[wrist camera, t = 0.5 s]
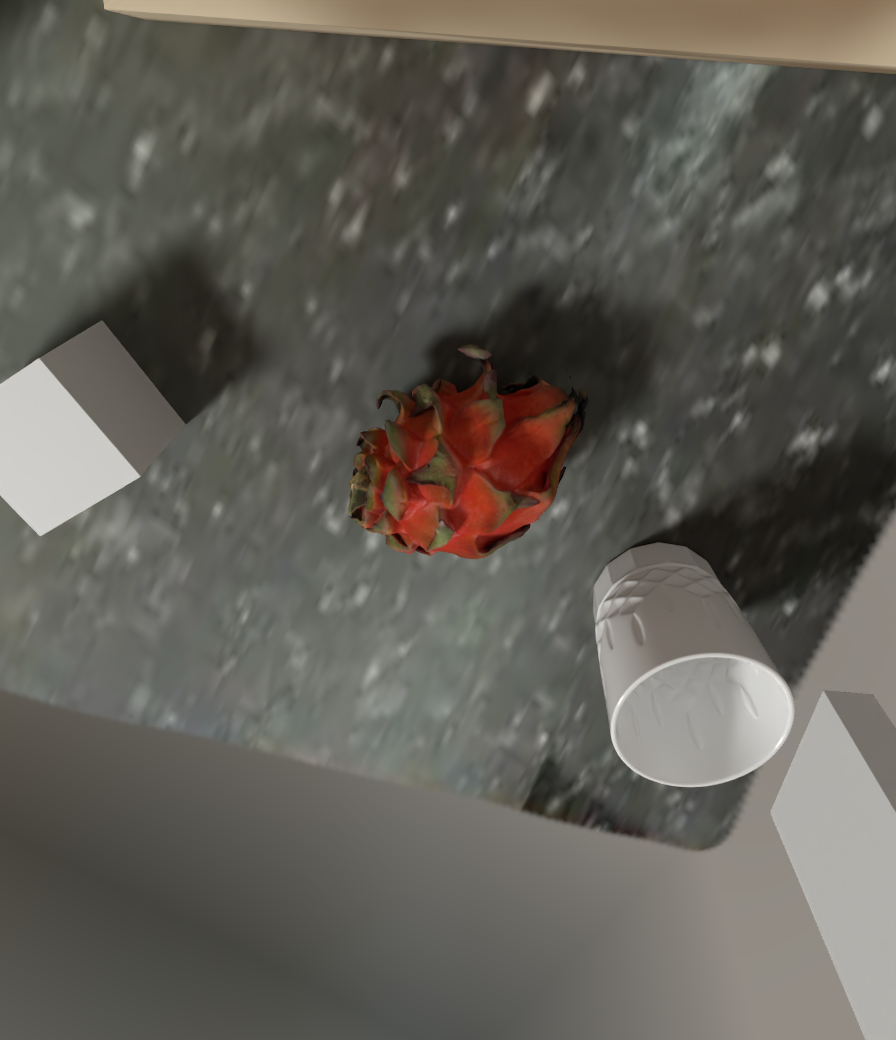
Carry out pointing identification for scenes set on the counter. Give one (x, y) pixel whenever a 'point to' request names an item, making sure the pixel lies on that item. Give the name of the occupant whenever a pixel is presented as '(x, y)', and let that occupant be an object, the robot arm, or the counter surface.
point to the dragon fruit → (464, 463)
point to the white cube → (78, 428)
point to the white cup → (684, 671)
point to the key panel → (585, 25)
